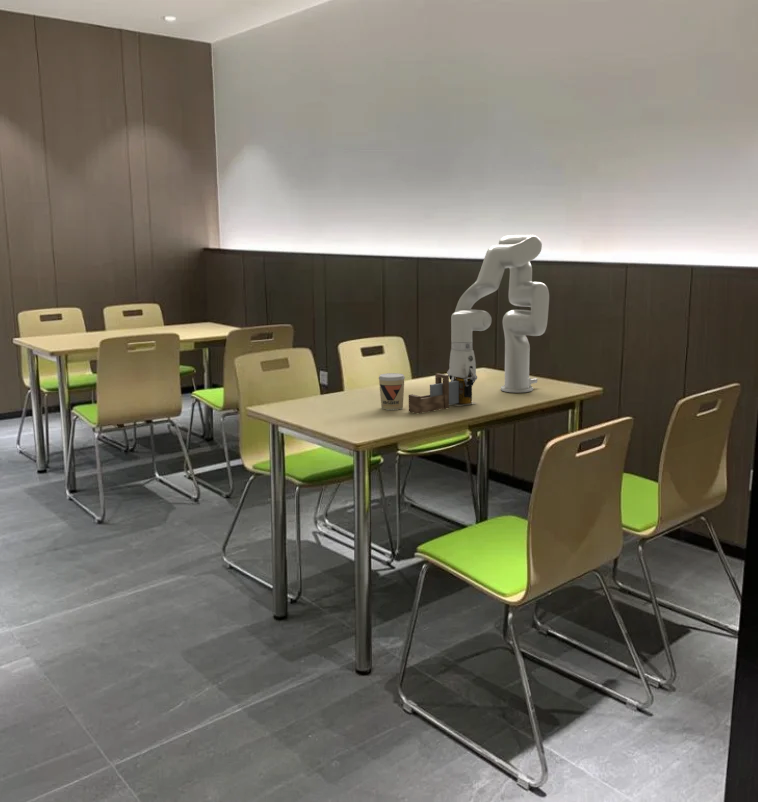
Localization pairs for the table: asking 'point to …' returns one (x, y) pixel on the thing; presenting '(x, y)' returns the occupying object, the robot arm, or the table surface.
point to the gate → (453, 391)
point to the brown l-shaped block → (431, 398)
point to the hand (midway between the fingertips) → (461, 394)
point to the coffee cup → (391, 390)
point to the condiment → (463, 399)
